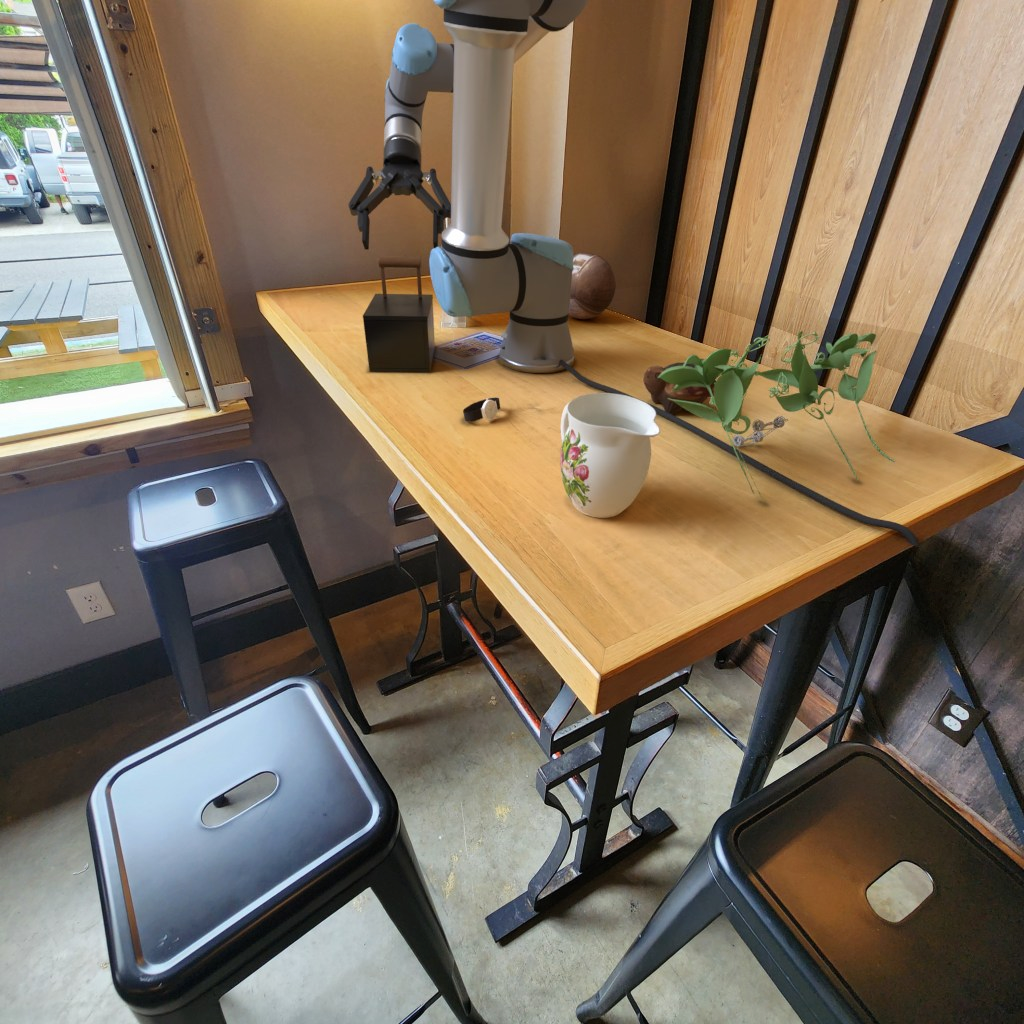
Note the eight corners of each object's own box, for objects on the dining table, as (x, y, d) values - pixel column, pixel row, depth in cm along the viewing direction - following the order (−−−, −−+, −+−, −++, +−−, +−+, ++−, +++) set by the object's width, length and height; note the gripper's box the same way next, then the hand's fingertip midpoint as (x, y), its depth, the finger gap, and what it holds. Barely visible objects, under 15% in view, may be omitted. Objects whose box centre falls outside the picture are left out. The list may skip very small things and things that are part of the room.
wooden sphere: (544, 322, 138) (548, 256, 130) (559, 306, 150) (564, 245, 141) (605, 330, 134) (613, 262, 126) (616, 313, 146) (624, 250, 138)
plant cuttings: (857, 492, 91) (801, 372, 97) (960, 446, 75) (886, 307, 81) (674, 536, 80) (622, 398, 86) (750, 493, 64) (681, 327, 70)
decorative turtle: (624, 402, 101) (633, 357, 97) (694, 397, 106) (705, 354, 102) (655, 422, 93) (666, 374, 89) (729, 416, 98) (742, 370, 94)
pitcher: (591, 460, 83) (602, 369, 75) (671, 526, 70) (695, 425, 62) (525, 475, 79) (530, 382, 71) (597, 549, 66) (612, 444, 58)
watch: (477, 429, 90) (477, 408, 88) (455, 420, 93) (455, 399, 91) (507, 413, 96) (507, 393, 93) (485, 405, 98) (485, 385, 96)
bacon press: (375, 297, 116) (371, 253, 111) (432, 298, 116) (430, 254, 112) (363, 320, 103) (357, 271, 98) (427, 320, 104) (424, 272, 99)
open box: (380, 346, 121) (375, 298, 115) (434, 347, 121) (432, 299, 116) (369, 372, 109) (363, 320, 103) (430, 372, 110) (427, 321, 104)
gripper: (465, 167, 119) (464, 259, 115) (344, 163, 118) (340, 256, 114) (464, 137, 112) (463, 234, 108) (335, 133, 110) (330, 231, 107)
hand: (400, 246), depth 111 cm, fingers open, 13 cm apart
